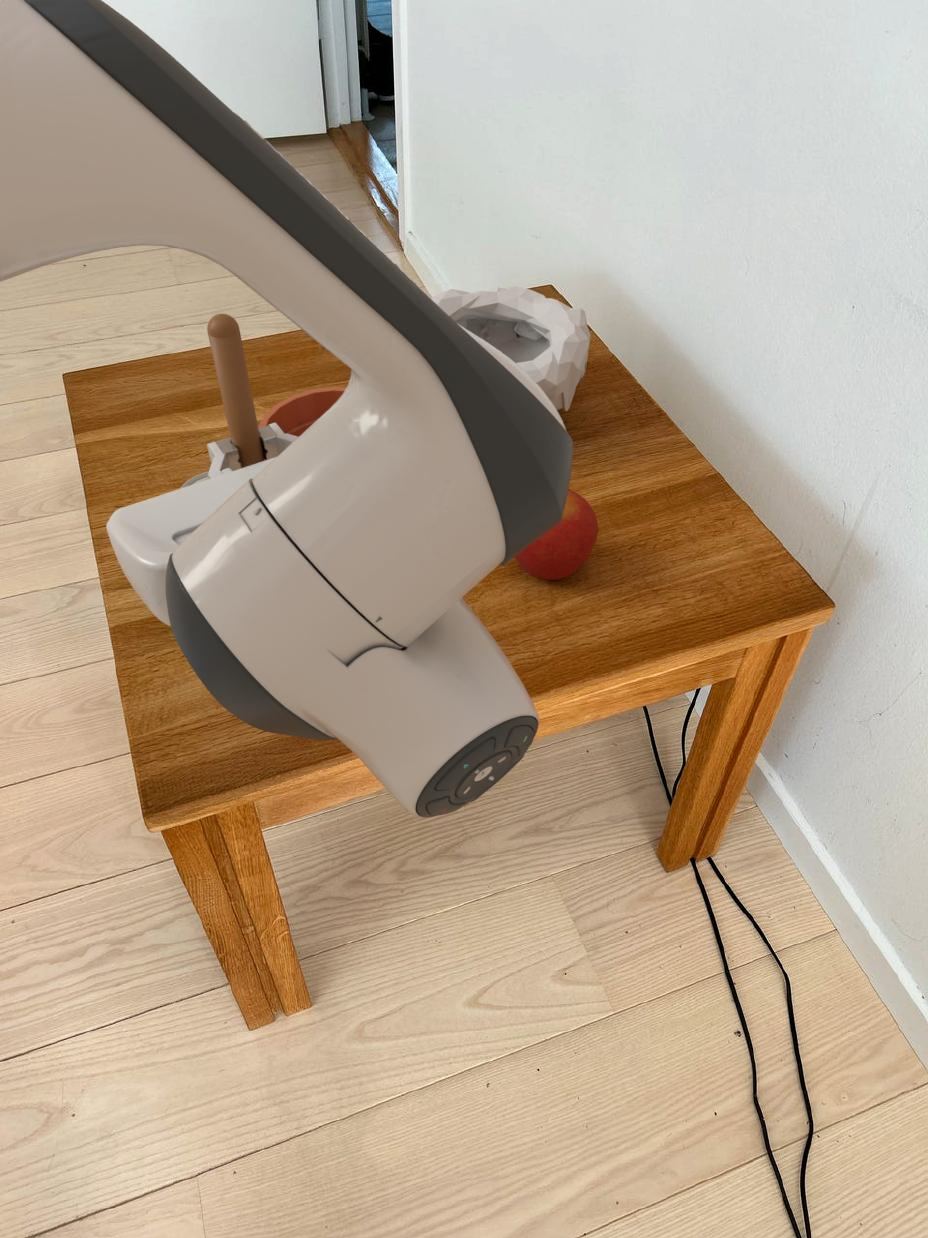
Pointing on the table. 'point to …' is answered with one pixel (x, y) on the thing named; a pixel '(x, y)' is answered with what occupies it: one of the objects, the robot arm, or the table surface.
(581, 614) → the table surface
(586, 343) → the bowl
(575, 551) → the apple
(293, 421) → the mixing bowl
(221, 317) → the plunger
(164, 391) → the table surface
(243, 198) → the robot arm
